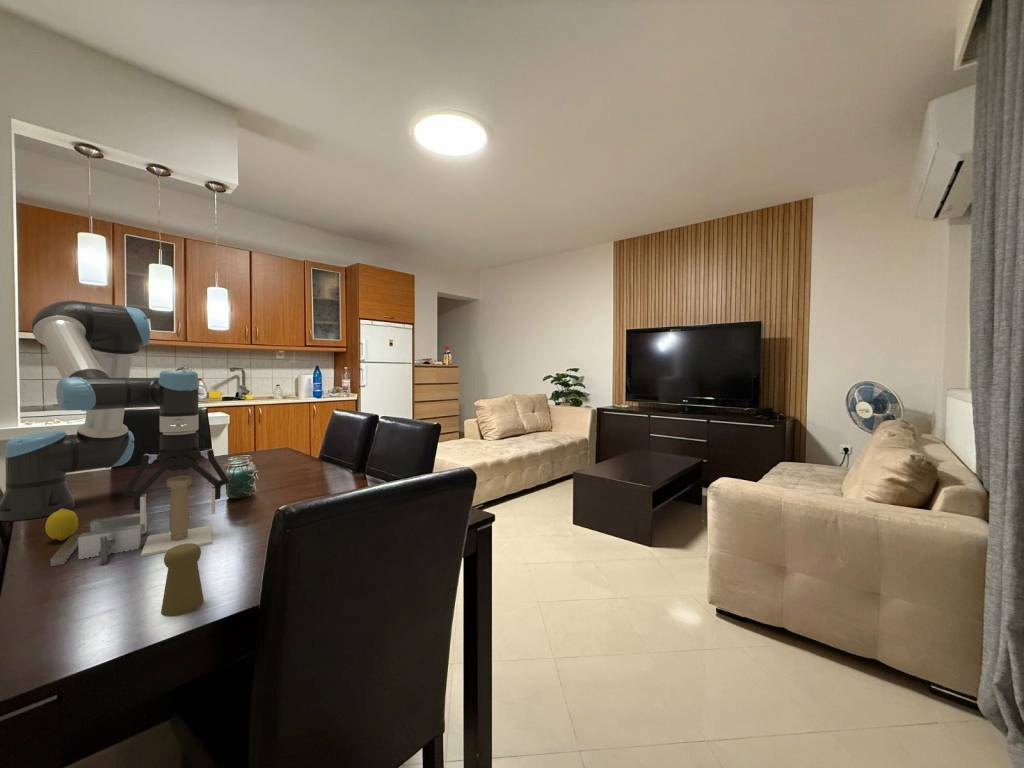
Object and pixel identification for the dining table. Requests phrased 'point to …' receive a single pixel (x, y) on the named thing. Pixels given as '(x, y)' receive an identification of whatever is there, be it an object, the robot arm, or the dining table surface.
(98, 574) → the dining table surface
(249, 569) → the dining table surface
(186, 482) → the handle
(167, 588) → the cork
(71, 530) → the lemon
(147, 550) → the mat
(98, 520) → the vise
